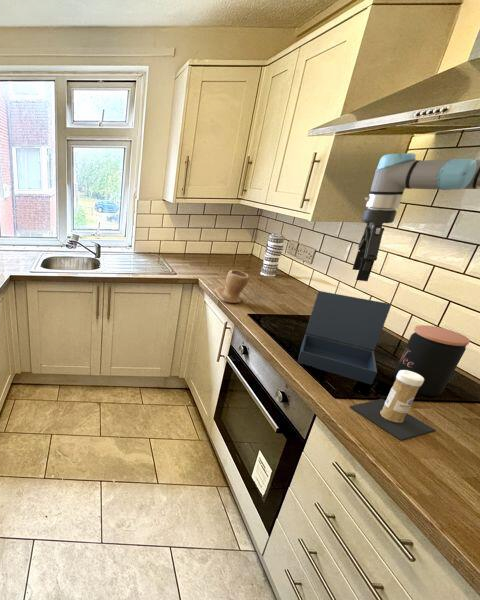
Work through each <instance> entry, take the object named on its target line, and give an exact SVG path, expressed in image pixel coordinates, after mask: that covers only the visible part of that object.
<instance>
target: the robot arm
mask: <svg viewBox="0 0 480 600" xmlns="http://www.w3.org/2000/svg"><path fill="white" fill-rule="evenodd" d="M416 156H417V154H416V153H415V152H409V153H408V152H406V153H388V154H387V153H386V154H384V155H382V156H381V158H380V159H379V162H378V164H377V166H376V169H375V171H374V172H375V173H374V176H373V180H372V183H371V187H370V191H369V194H368V196H366V197H365V198H364V200H365V201H366V203H365V207H366V208H364V210H363V213H362V216H361V221H362V222H363V223H366V226H365V228H364V231H363V233H362V234H363V235H362V236H361V238H360V241H359V244H358V246H357V247H358V249H357V253H356V256H355V259H354V262H353V265H352V270H354V271H358V272H357V276H356V279H355V280H356V281H359V282H361V281H362V282H368V281H369V278H370V275H371V272H372V270H373V267H374V263H375V261H377V260H378V254H379V252H380V251H379V250H380V247H381V243H382V238H383V234H384V232H385V227H383V224H391V223H394V221H395V219H396V216H397V213H398V211H397V209H399V207H400V204H401V201H402V198H403V196H404V191H405V189H407V190H414V189H415V190H442V191H451V190H452V191H453V190H480V159H474V158H447V159H429V160H426V159H425V160H422V159H421V160H419V159H416Z"/></svg>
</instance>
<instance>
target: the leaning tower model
mask: <svg viewBox="0 0 480 600" xmlns="http://www.w3.org/2000/svg"><path fill="white" fill-rule="evenodd" d="M268 236H269V238H268V241H267V243H266V244H265V245H266V247H265V251H264V252H265V253H264V260H263V262H262V265H261V266H262V267H261V269H260V275H262V276H265V277H276V274H277V272H278V268H279V267H278V266H279V260H280V258H281V256H282V251H283V250H284V249H283V248H284V239H285V238H286V236H285V237H284V235H283V234H281V233H272V234H270V235H268Z"/></svg>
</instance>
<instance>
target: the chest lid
mask: <svg viewBox="0 0 480 600" xmlns="http://www.w3.org/2000/svg"><path fill="white" fill-rule="evenodd" d="M391 307H392V303H390V302H389V303H388V302H382V301H377V300H371V299H366V298H360V297H355V296H350V295H344V294H339V293H332V292H327V291H324V290H323V291H322V290H318V291H317V294H316V297H315V301H314V304H313V307H312V309H311V310H312V311H311V314H310V318H309V320H308V323H307V327H306V330H305V334H307V335H311V336H315V337H319V338H323V339H327V340H331V341H335V342H339V343H343V344H347V345H351V346H355V347H359V348H363V349H367V350H371V351H375V350H376V348H377V344H378V342H379V339H380V337H381V334H382V331H383V329H384V326H385V323H386V321H387V318H388V316H389V312H390V310H391Z"/></svg>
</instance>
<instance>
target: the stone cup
mask: <svg viewBox="0 0 480 600" xmlns="http://www.w3.org/2000/svg"><path fill="white" fill-rule="evenodd" d="M249 281H250V275H249V274H248V273H246V272H244V271H242V270H239V269H231V270H229V271H228V273H227V275H226V277H225V287H216V288H214V292H215V293H216V295H217V296H218V297H219V298H220V300H222V301H223V302H225V303H230V304H231V303H232V304H240V303H241V302H242V299H241V297H240V294H241V293H242V291H243V290H244V289H245V288H246V286H247V284H248V283H249Z"/></svg>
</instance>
